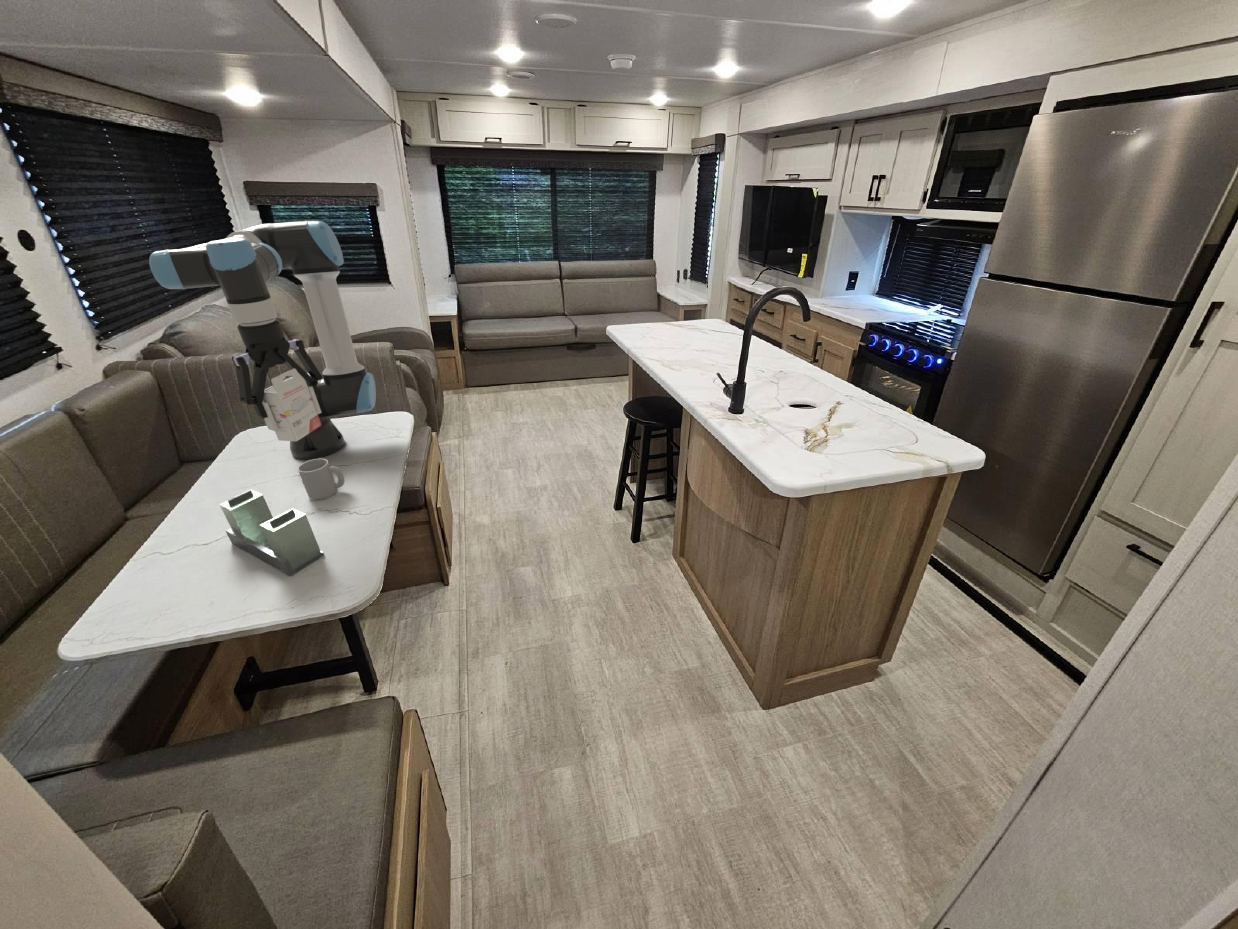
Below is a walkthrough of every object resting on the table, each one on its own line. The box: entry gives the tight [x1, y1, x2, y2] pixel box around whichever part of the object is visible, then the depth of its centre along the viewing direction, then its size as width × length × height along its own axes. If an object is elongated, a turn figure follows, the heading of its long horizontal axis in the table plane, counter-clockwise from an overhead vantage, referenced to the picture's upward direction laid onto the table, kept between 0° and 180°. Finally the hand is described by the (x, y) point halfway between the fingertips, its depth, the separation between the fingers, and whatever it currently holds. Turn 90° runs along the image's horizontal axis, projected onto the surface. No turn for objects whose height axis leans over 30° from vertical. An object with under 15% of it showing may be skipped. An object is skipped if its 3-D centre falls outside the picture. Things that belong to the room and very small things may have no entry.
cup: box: [297, 458, 345, 501], centre depth 140 cm, size 7×10×9 cm
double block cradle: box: [219, 489, 325, 577], centre depth 118 cm, size 8×24×12 cm, turn 59°
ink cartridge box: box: [263, 368, 321, 442], centre depth 116 cm, size 9×5×15 cm, turn 168°
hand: (295, 420), depth 118 cm, fingers closed on ink cartridge box, 9 cm apart
